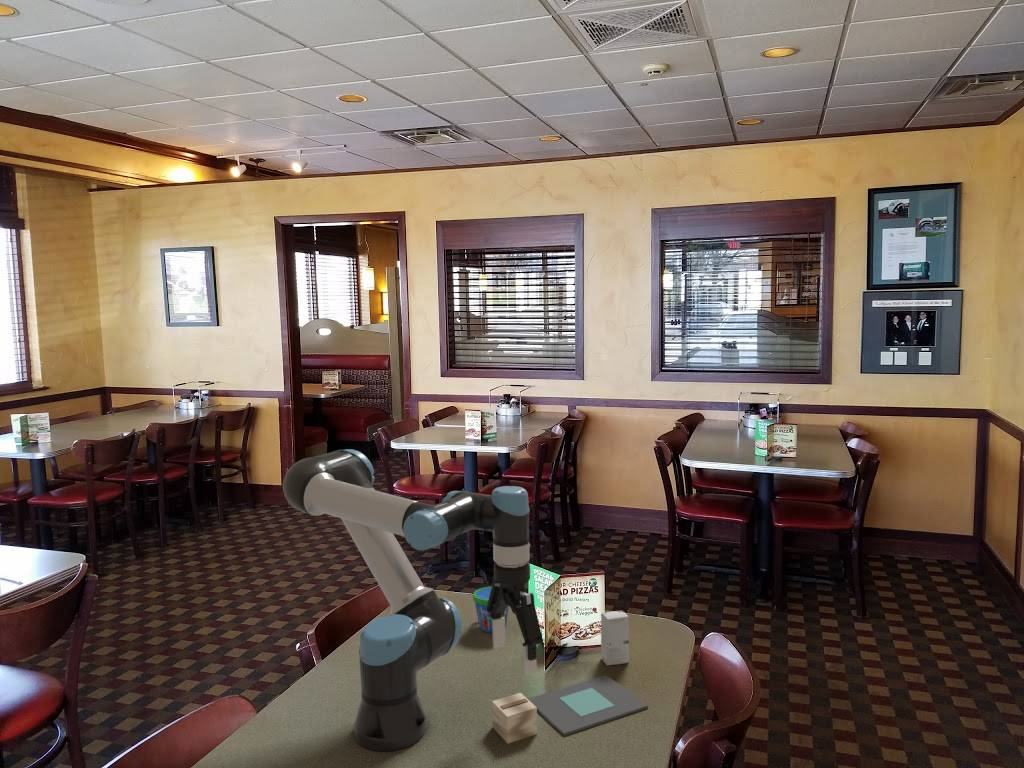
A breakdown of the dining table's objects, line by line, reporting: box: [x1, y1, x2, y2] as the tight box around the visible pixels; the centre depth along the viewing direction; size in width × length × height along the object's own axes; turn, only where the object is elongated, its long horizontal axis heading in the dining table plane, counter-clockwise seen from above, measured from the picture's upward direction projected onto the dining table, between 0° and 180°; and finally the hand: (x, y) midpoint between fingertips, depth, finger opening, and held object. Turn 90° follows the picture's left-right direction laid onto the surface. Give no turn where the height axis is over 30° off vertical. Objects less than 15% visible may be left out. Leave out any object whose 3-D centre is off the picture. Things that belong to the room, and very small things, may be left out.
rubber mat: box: [527, 674, 649, 737], centre depth 169 cm, size 22×16×1 cm
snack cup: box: [472, 586, 510, 633], centre depth 209 cm, size 16×10×10 cm
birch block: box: [491, 692, 538, 744], centre depth 158 cm, size 7×7×6 cm
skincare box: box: [600, 610, 630, 666], centre depth 189 cm, size 6×4×12 cm
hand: (514, 660), depth 157 cm, fingers open, 13 cm apart
